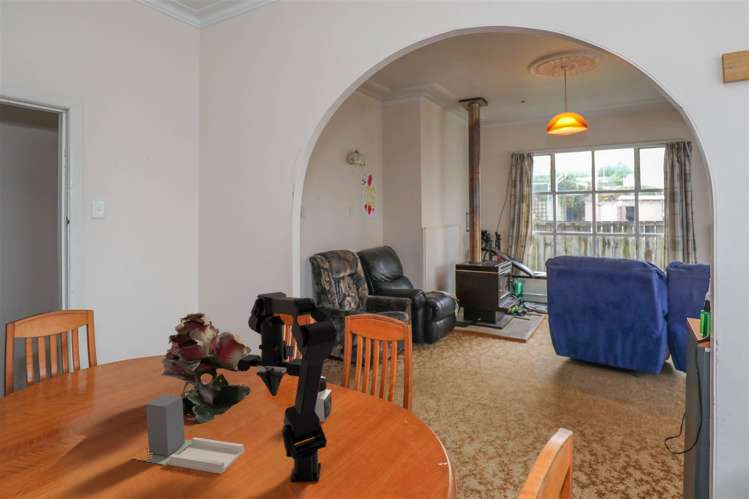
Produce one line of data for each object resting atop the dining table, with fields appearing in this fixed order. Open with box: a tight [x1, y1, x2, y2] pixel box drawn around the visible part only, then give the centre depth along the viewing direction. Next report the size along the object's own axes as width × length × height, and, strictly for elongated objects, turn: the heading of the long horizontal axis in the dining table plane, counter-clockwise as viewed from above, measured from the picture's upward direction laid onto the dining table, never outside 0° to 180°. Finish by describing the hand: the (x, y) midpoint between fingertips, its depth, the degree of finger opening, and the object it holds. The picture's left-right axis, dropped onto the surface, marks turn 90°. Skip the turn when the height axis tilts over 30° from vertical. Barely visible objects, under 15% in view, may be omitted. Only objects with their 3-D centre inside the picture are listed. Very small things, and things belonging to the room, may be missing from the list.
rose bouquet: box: [160, 312, 252, 424], centre depth 140 cm, size 26×29×30 cm
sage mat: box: [135, 439, 192, 466], centre depth 112 cm, size 10×11×1 cm
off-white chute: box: [168, 436, 245, 475], centre depth 108 cm, size 15×10×2 cm, turn 74°
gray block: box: [145, 394, 186, 456], centre depth 111 cm, size 6×6×13 cm
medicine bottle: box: [315, 375, 333, 423], centre depth 129 cm, size 7×7×12 cm
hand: (274, 395), depth 114 cm, fingers closed
